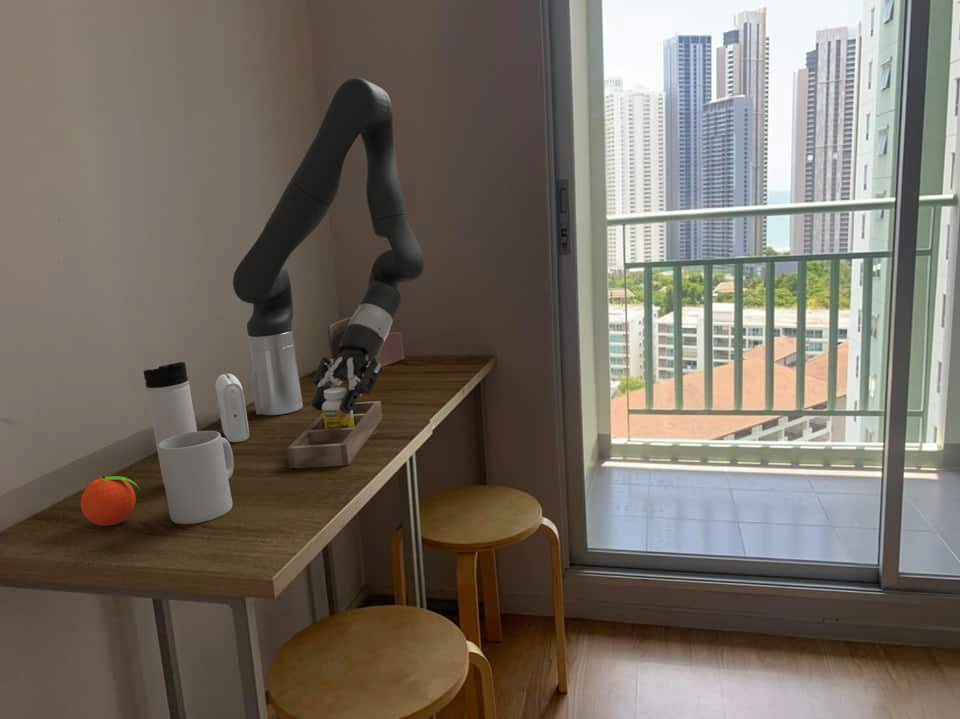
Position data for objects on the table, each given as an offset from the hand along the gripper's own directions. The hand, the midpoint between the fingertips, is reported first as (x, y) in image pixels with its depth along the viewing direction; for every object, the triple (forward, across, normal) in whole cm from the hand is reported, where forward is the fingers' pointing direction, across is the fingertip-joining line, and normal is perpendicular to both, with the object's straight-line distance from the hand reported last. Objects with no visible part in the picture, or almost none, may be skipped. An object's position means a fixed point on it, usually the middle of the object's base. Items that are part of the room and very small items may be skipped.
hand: (329, 409), depth 132 cm
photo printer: (+7, -24, +3) cm, 25 cm away
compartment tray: (+3, 0, +6) cm, 7 cm away
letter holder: (-35, -43, +45) cm, 71 cm away
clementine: (+32, -4, -23) cm, 40 cm away
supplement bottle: (+3, 0, +6) cm, 7 cm away
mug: (+25, +4, -16) cm, 30 cm away
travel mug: (+22, -9, -13) cm, 27 cm away
